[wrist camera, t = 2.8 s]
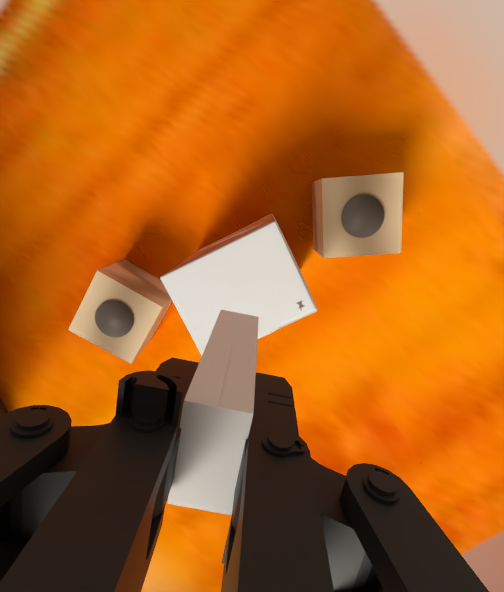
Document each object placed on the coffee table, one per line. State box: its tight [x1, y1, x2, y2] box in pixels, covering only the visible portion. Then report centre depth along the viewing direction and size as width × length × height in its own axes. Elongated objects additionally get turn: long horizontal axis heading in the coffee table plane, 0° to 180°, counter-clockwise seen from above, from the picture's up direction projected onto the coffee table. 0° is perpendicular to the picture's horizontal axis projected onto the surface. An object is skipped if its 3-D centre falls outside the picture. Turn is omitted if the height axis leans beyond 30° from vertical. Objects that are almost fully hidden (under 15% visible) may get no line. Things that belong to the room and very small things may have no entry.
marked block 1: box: [68, 259, 173, 364], centre depth 33 cm, size 6×6×6 cm
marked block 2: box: [311, 172, 404, 258], centre depth 30 cm, size 6×6×6 cm
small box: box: [160, 213, 318, 355], centre depth 28 cm, size 8×6×13 cm
